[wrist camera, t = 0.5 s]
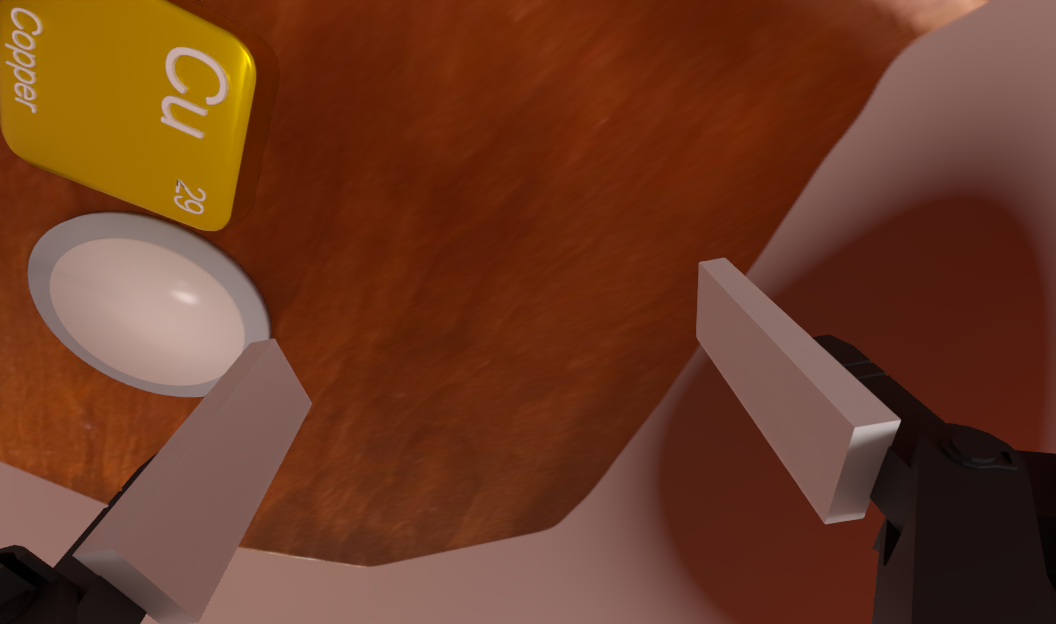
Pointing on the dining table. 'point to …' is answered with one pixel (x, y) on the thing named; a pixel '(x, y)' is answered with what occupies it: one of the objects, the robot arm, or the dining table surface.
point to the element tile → (140, 102)
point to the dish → (146, 300)
